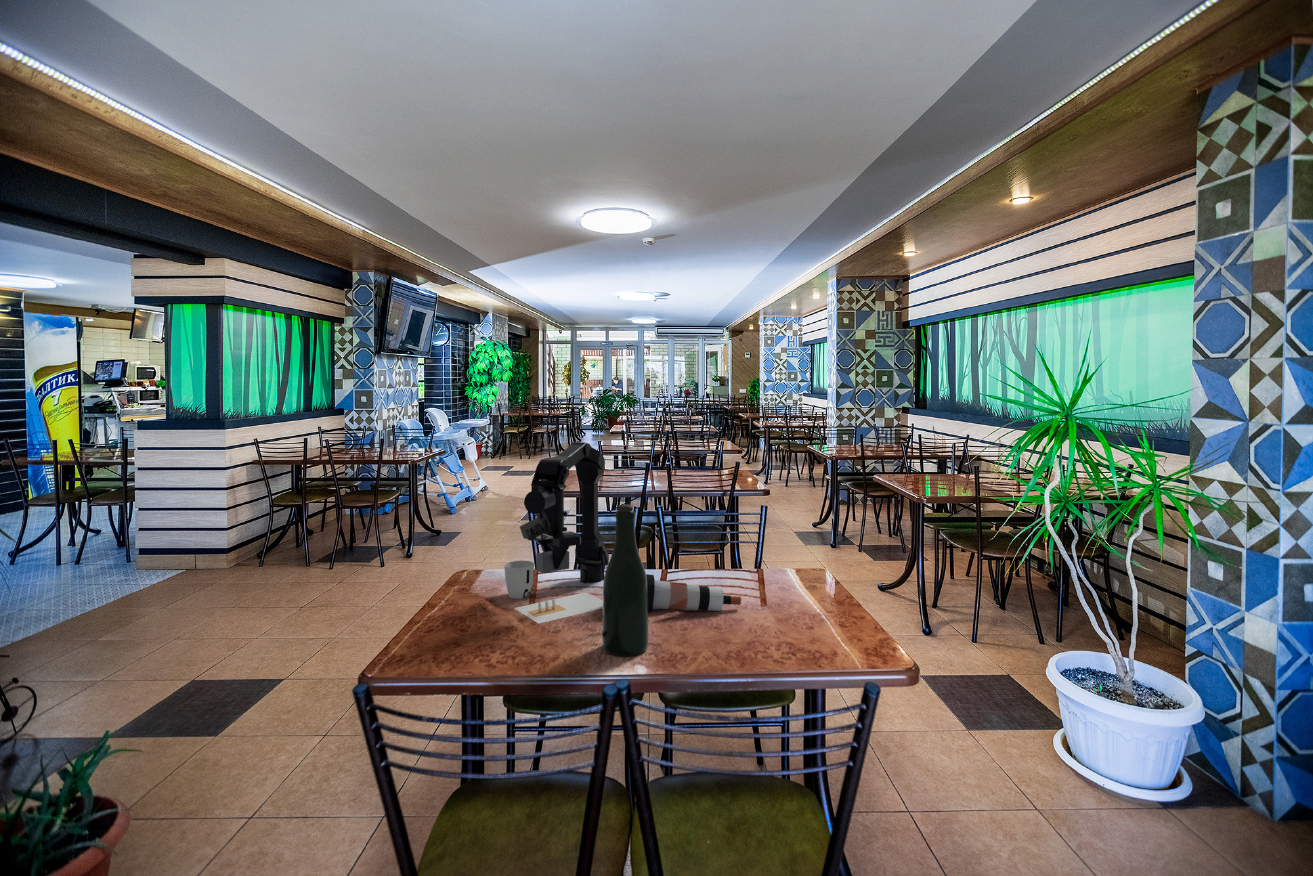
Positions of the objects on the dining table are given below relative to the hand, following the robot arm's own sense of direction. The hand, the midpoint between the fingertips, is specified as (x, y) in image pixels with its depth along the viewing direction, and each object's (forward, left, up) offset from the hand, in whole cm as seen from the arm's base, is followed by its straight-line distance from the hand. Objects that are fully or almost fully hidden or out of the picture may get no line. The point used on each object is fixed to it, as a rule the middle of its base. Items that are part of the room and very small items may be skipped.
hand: (552, 567), depth 170 cm
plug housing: (0, 0, -1) cm, 1 cm away
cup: (+2, -16, -13) cm, 21 cm away
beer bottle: (-2, +30, -13) cm, 32 cm away
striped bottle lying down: (-27, +18, -13) cm, 35 cm away
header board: (-3, 0, -13) cm, 13 cm away
